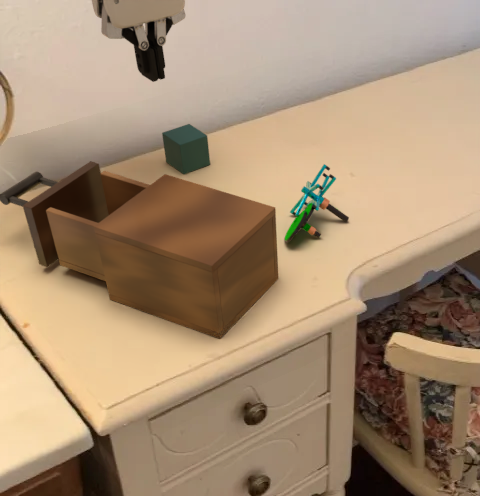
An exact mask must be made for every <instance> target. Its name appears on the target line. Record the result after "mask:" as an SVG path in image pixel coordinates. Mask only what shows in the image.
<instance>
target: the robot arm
mask: <svg viewBox="0 0 480 496" xmlns="http://www.w3.org/2000/svg"><path fill="white" fill-rule="evenodd" d="M91 5H92V8H93V12H94V14H95V16H96V17H98V18H99V19H101V28H100V29H101V35H103V36H104V37H106V38H107V39H112V40H122V39H125V40H126V41H127V42H129V43H130V44H131V45H133V51H134V56H135V61H136V66H137V67H136V68H137V70H138V72H139V73H140V74H141V75H142V76H143V77H145V78H146V79H148V80H149V81H151V82H153V83H154V82H158V80H164V79H166V74H165V73H166V72H165V68H166V60H165V55H164V53H165V52H164V47H163V46H164V45H166V41H167V36H168V34H169V32H170V31H171V28H172V27H173V26H174V25H176V24H178V23H180V22H181V21H184V20H185V18H186V12H185V6H186V0H91Z"/></svg>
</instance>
